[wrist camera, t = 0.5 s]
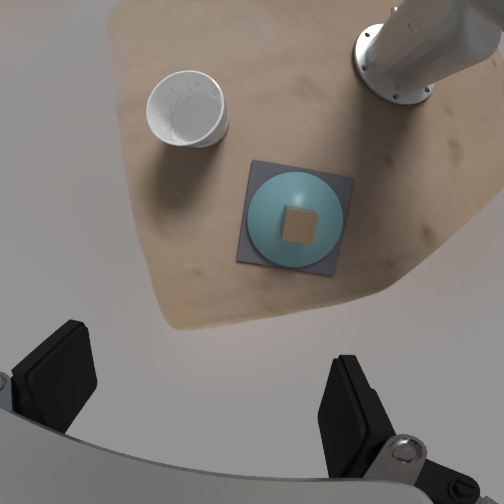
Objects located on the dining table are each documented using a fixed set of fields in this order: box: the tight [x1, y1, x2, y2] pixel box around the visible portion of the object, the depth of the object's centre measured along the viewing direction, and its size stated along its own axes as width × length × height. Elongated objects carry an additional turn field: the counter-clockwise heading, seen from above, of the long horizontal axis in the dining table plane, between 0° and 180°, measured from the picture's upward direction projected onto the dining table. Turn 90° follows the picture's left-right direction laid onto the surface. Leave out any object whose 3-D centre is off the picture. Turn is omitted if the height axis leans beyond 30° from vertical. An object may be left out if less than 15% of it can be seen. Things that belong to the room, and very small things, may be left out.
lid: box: [247, 172, 343, 267], centre depth 36 cm, size 12×12×6 cm
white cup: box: [146, 71, 229, 148], centre depth 32 cm, size 8×8×10 cm
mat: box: [237, 160, 354, 276], centre depth 39 cm, size 13×13×1 cm
